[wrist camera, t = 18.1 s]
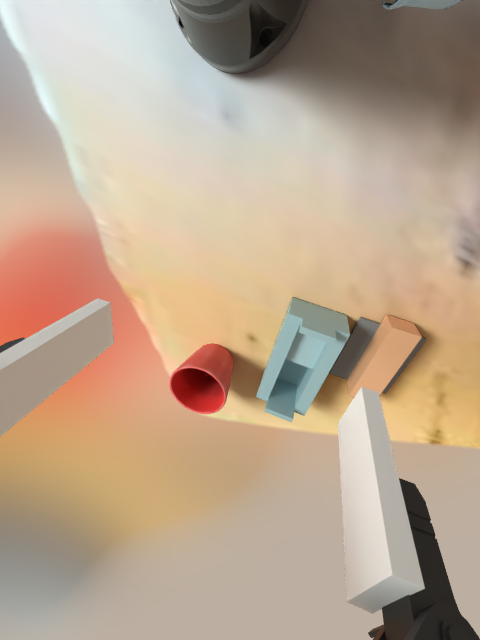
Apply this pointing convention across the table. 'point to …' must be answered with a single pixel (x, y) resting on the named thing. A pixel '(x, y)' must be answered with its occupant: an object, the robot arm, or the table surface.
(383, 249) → the table surface
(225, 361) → the flower pot
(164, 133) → the table surface
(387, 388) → the mat
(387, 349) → the bar
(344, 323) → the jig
